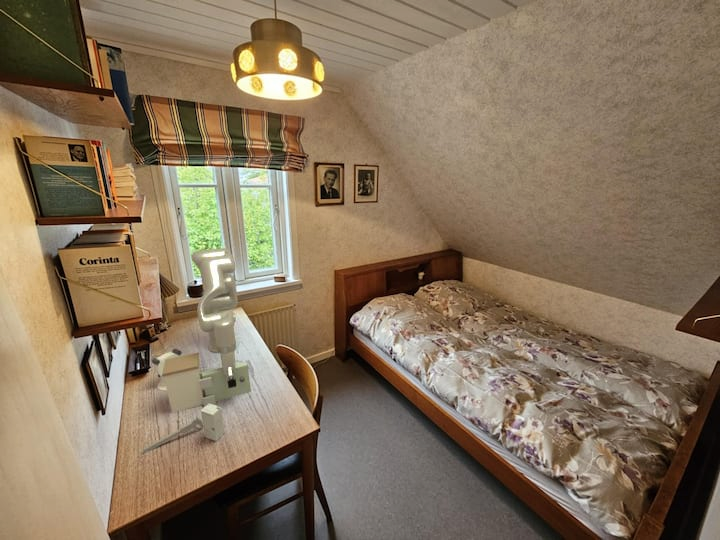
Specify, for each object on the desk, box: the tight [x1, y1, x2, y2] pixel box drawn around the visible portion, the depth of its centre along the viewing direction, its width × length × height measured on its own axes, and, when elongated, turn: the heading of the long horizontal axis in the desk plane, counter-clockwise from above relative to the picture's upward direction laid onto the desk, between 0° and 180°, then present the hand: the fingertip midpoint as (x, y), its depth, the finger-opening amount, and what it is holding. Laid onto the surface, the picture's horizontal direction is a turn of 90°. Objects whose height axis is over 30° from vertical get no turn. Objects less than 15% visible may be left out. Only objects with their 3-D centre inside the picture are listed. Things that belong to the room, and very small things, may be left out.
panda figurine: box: [151, 348, 182, 392], centre depth 145 cm, size 12×11×15 cm
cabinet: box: [162, 352, 217, 414], centre depth 133 cm, size 12×17×19 cm
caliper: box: [139, 416, 204, 455], centre depth 115 cm, size 20×1×6 cm, turn 124°
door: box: [201, 361, 252, 402], centre depth 136 cm, size 4×18×14 cm, turn 115°
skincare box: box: [200, 403, 225, 442], centre depth 116 cm, size 6×4×12 cm
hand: (231, 380), depth 137 cm, fingers open, 9 cm apart
